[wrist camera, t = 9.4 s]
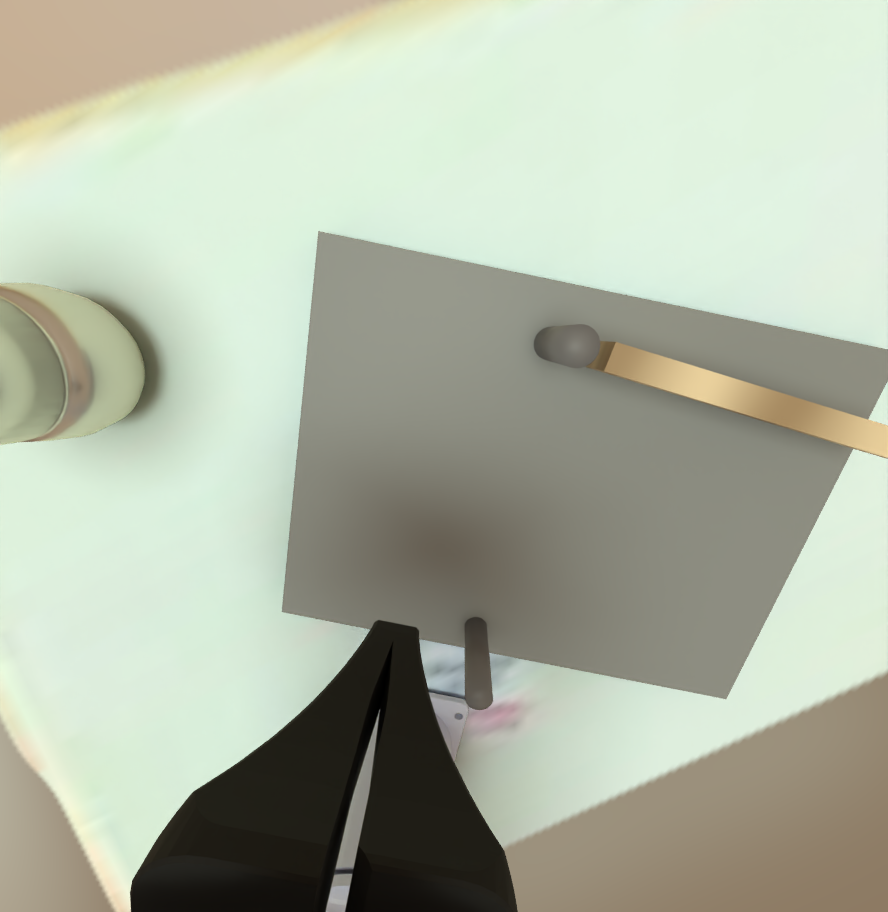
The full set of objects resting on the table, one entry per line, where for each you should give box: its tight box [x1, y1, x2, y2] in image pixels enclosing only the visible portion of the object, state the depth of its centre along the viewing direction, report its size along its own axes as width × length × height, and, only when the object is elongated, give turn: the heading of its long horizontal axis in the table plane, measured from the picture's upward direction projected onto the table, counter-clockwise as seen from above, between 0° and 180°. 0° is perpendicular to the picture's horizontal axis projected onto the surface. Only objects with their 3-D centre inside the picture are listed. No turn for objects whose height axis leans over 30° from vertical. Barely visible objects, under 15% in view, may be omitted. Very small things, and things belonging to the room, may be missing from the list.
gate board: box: [282, 231, 888, 710], centre depth 18 cm, size 19×25×6 cm
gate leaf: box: [585, 341, 888, 459], centre depth 16 cm, size 13×1×4 cm, turn 74°
